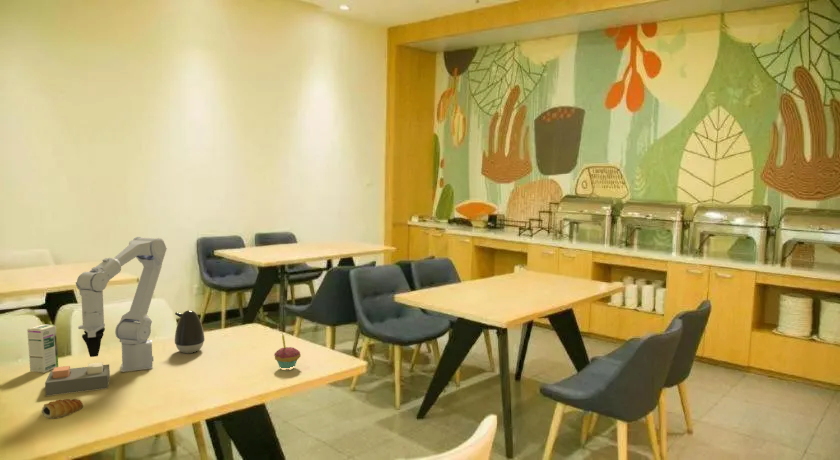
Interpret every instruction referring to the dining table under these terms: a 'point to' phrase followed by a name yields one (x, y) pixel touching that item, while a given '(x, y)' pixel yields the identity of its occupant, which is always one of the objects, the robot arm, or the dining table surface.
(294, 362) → the cupcake
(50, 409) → the pastry
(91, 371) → the button
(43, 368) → the syrup box
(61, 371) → the button
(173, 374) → the dining table surface
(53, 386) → the block
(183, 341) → the pump dispenser
